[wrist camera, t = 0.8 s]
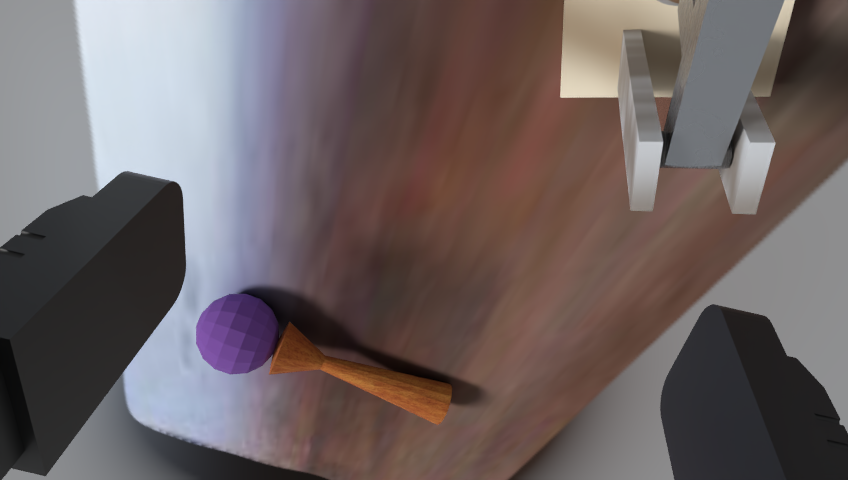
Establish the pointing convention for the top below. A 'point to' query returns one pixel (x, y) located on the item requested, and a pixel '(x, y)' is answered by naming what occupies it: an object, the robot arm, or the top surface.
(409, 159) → the top surface
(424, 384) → the two-tone long tapered part
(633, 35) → the base
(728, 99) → the lever
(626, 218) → the top surface
